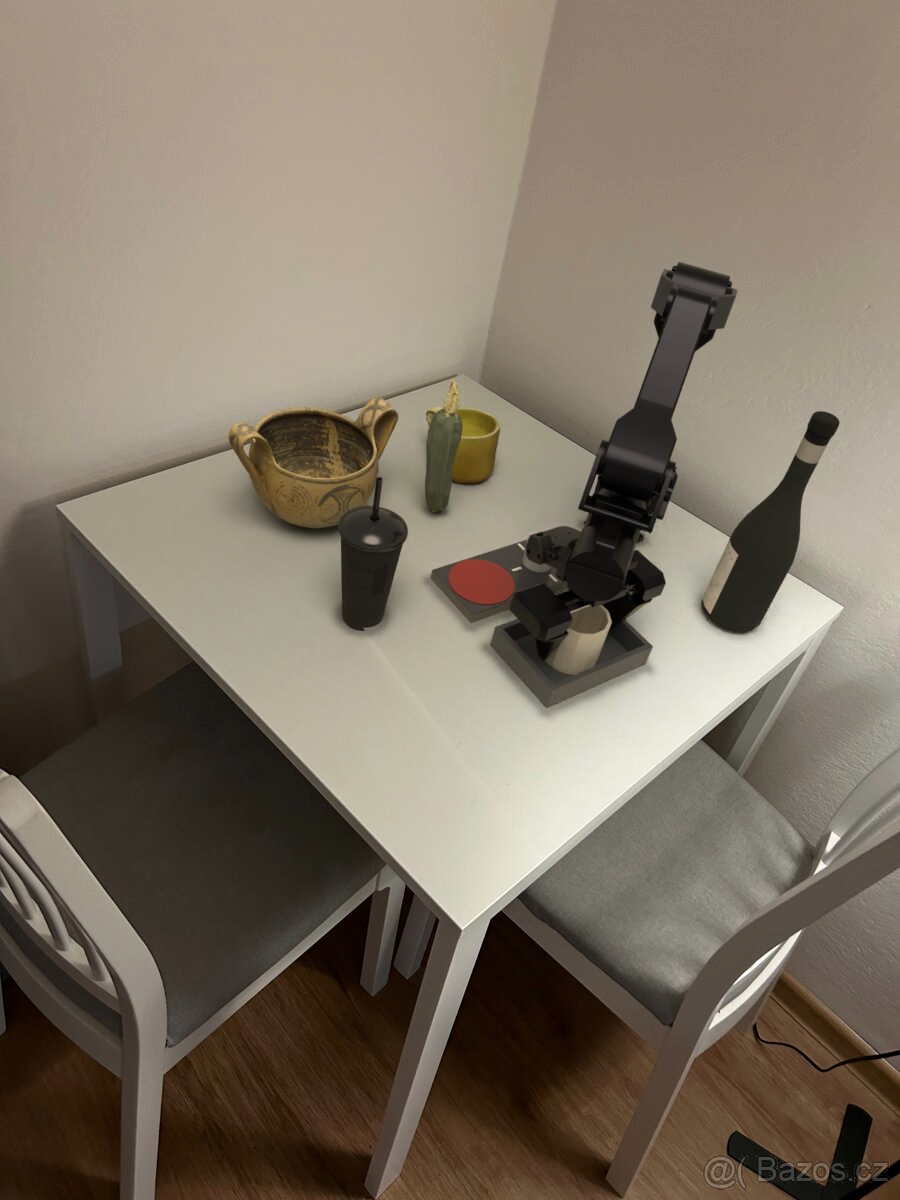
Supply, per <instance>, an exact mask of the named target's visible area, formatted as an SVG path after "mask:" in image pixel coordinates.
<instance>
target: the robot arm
mask: <svg viewBox="0 0 900 1200" xmlns="http://www.w3.org/2000/svg"><path fill="white" fill-rule="evenodd" d="M730 279H731V275H729V274H725V273H721V272H717V271H714V270H711V269H707V268H703V267H700V266H696V265H693V264H689V263H685V262H681V261H677V264H676V265H673V266H672V267H671V270H670V269H668V268H667V269H666V268H664V269H663V270H662V273H661V274H660V277H659V280H658V283H657V286H656V289H655V292H654V296H653V298H652V301H651V305H650V309H652V310H653V311H654V312H655V315H654V319H653V325H654V328H655V331H656V335H657V337H658V339H657V342H656V344H655V348H654V350H653V353H652V356H651V359H650V361H649V364H648V367H647V370H646V373H645V375H644V377H643V380H642V384H641V387H640V389H639V392H638V394H637V397H636V400H635V403H634V405H633V407H632V408H631V409H630V410H629V411H627V412H626V413H624V414H623V415H622V416H620V417H619V418H618V419H617V420H616V421H615V423H614V426H613V429H612V431H611V433H610V437H609V439H608V440H607V439H602V440H601V442H600V445H599V447H598V449H597V452H596V455H595V459H594V461H593V464H592V467H591V469H590V472H589V475H588V477H587V478H588V479H587V481H586V484H585V487H584V490H583V493H582V495H581V498H580V501H579V504H578V506H577V510H579V511H582V512H584V513H587V516H586V519H585V520H584V521H583V525H584V526H583V528H582V529H581V530H579V529H576V528H573V527H571V526H567V525H560V526H559V525H558V526H556V527H553V528H550V529H545V530H546V531H543V532H538V533H535V534H532V535H530V537H529V539H528V538H527V539H528V542H527V544H526V556H527V558H528V560H530V561H532V562H534V563H536V564H538V565H542V564H547V565H549V566H551V567H554V568H556V569H557V571H556V575H555V576H556V577H557V578H558V579H559V580H560V581H562V582H563V581H566V582H567V583H568V584H567V587H568V588H567V591H563V592H561V593H559V594H556V593H553V592H552V591H551V590H550V589H549V588H548V587H547V586H546V585H545V584H544V583H542V584H537V585H534V586H531V587H528V588H526V589H523V590H520V591H517V592H514V593H513V597H512V601H511V604H510V609H509V610H508V611H510V612H511V613H512V614H513V616H514V617H516V619H519V620H520V621H521V623H522V624H523V625H524V626H525V627H526V628H527V629H528V630H529V631H530V632H531V633H532V634H533V635H534V636H535V640H536V646H537V651H538V655H539V657H540V658H541V659H542V660H543V661H544V660H546V659H547V658H548V657H549V656H550V655H551V654H552V653H553V652H554V651H555V649H556V648H557V647H558V646H559V645H560V643H561V642H562V641H563V640H564V639H565V638H566V636H567V635H568V634H569V633H568V632H567V631H566V630H567V629H568V628H569V627H570V625H571V622H572V617H571V613H573V612H576V611H578V610H581V609H583V608H586V607H589V606H592V607H593V608H594V607H596V606H599V605H602V604H603V607H604V608H605V609H606V610H608V612H609V614H610V618H611V621H612V623H611V626H610V629H609V631H608V633H609V632H610V631H611V630H613V629H614V628H615V627H616V626H618V625H619V624H620V623H621V622H623V621H624V620H627V619H628V618H630V617H631V616H633V614H635V613H636V612H637V611H639V610H641V609H642V608H643V607H644V606H646V605H647V604H649V603H651V602H652V601H653V599H655V598H656V597H659V596H662V593H663V591H664V589H665V586H666V584H667V583H666V578H665V574H664V572H663V571H662V570H661V569H659V567H657V565H655V564H654V563H653V562H652V561H651V560H649V558H647V556H645V555H644V554H643V553H641V551H639V550H638V549H636V545H637V543H639V542H643V540H644V538H645V536H644V535H643V534H642V533H641V532H645V533H648V534H652V533H653V530H654V528H655V525H656V522H657V520H661V521H663V520H664V517H665V514H666V512H667V509H668V506H669V503H670V500H671V497H672V495H673V492H674V489H675V486H676V483H677V481H678V478H679V474H678V473H677V470H678V469H677V466H676V465H677V462H676V461H673V460H671V458H672V456H673V453H674V450H675V447H676V443H677V441H678V438H677V433H676V431H675V427H674V423H673V417H674V414H675V411H676V407H677V405H678V401H679V399H680V396H681V393H682V390H683V388H684V385H685V383H686V379H687V376H688V374H689V370H690V368H691V365H692V362H693V359H694V356H695V353H696V352H697V351H698V350H700V349H701V348H702V347H704V346H705V345H707V344H708V343H709V342H711V341H712V340H713V339H714V337H715V334H716V331H717V330H723V329H725V328H726V325H727V322H728V319H729V317H730V314H731V311H732V309H733V307H734V303H735V301H736V297H737V294H738V289H737V288H735V287H732V286H733V282H732V280H730ZM596 477H597V481H596V484H595V488H594V492H593V493H592V495H590V494H591V491H592V489H593V486H594V482H595V480H596Z"/></svg>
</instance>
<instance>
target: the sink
mask: <svg viewBox="0 0 900 1200" xmlns="http://www.w3.org/2000/svg"><path fill="white" fill-rule="evenodd" d="M602 606H603V604H602ZM489 646H490V647H491V648H492V649H493V651H494V652H496V654H497V655H498V656H499V657H500V658H501V659H502V660H503V662H504V663H506V665H507V666H508V667H509V669H511V671H512V672H513V673H514V674H515V675H516V676H517V678H518V679H520V680H521V682H522V683H523V684H524V685H525V687H527V688H528V690H529V691H530V692H531V693H532V694H533V695H534V696H535V698H537V700H538V701H539V702H540V703H541V704H542V705H543V706H544V707H545V709H549V708H550V707H553V706H555V705H559V704H560V703H562V702H565V701H566V700H568V699H571V698H573V697H575V696H578V695H580V694H582V693H584V692H587V691H589V690H592V689H593V688H595V687H598V686H600V685H603V684H604V683H605V684H606V683H607V682H609V681H612V680H613V679H616V678H618V677H621V676H622V675H625V674H627V673H629V672H631V671H633V670H636V669H639V668H640V667H642V666H645V665H647V662H648V660H649V657H650V655H651V653H652V650H653V648H654V645H652V644H651V642H649V641H648V640H647V639H646V638H645V637H644V636H643V635H642V634H641V633H640V632H639V631H638V630H637V629H636V628H634V627H633V625H632V624H630V622H629V621H627V619H625V620H624V621H623V622H621V623H620V624H619V625H618V626H616V627H615V628H614V629H613V630H611V631H610V632H609V633H608V634H607V637H606V639H605V642H604V645H603V647H602V650H601V652H600V655H599V658H598V660H597V662H596V664H595V666H594V667H592V668H590V669H587V670H585V671H583V672H580V673H578V674H576V675H572V674H566V673H563V672H560V671H558V670H556V669H554V668H553V667H552V666H550V665H549V664H548V663H547V662H546V660H544V661H543V660H542V659H541V658H540V657H539V655H538V651H537V646H536V640H535V636H534V635H533V634H532V633H531V632H530V631H529V630H528V629H527V628H526V627H525V626H524V625H523V624H522V623H521V621H520V620H519V619H518V618H515V619H513V620H510V621H506V622H504V623H502V624H499V625H496V626H495V627H494V629H493V633H492V636H491V641H490V645H489Z"/></svg>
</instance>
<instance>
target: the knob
mask: <svg viewBox="0 0 900 1200" xmlns="http://www.w3.org/2000/svg"><path fill="white" fill-rule="evenodd" d="M546 530H547V529H543V528H537V529H533V530H531V531H530V532H529V533H528V536H527V539H526V540H527V542H528V539H529V537H530V535H532V534H535V533H538V532H543V531H546ZM526 544H527V543H526ZM522 563H523V565H524V566H525V567H526V568H527V569H529V570H531V571H534V572H538V573H543V572H547V571H549V570H550V569H551V568H552V567H551V566H549V565H547V564H542V565H538V564H536V563H534V562H532V561H530V560H528V558H527V556H526V546H525V550H524V554H523V557H522Z"/></svg>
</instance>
